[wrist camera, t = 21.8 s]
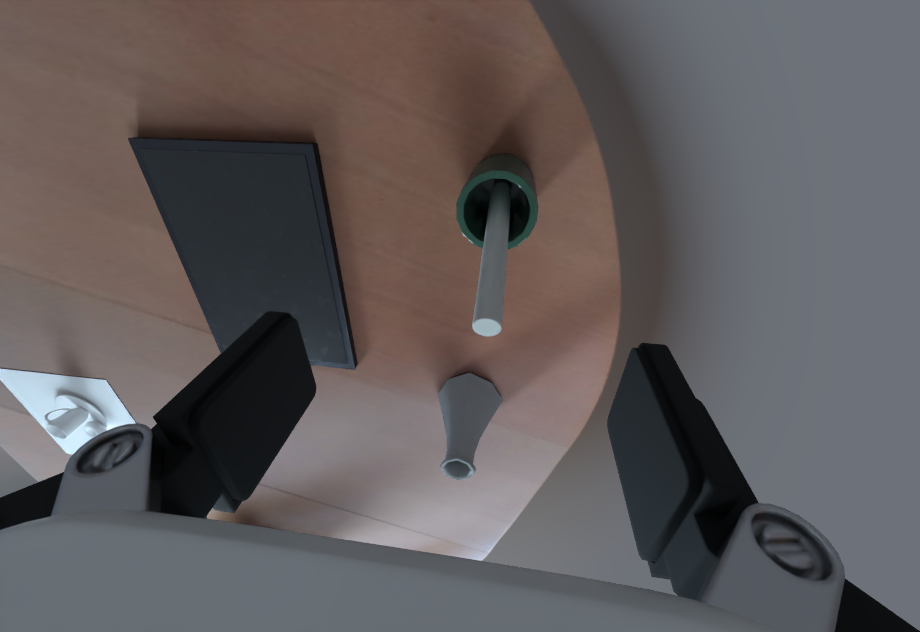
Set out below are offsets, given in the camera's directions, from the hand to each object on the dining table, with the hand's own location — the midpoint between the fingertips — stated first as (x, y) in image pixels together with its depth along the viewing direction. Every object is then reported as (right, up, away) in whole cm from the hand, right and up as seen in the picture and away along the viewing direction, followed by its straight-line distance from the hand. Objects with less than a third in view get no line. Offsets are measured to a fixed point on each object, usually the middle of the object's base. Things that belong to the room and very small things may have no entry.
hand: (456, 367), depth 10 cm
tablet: (-20, +6, +27) cm, 35 cm away
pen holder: (+4, +12, +20) cm, 23 cm away
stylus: (+3, +12, +19) cm, 23 cm away
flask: (+1, -8, +33) cm, 34 cm away
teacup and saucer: (-60, -15, +48) cm, 79 cm away
